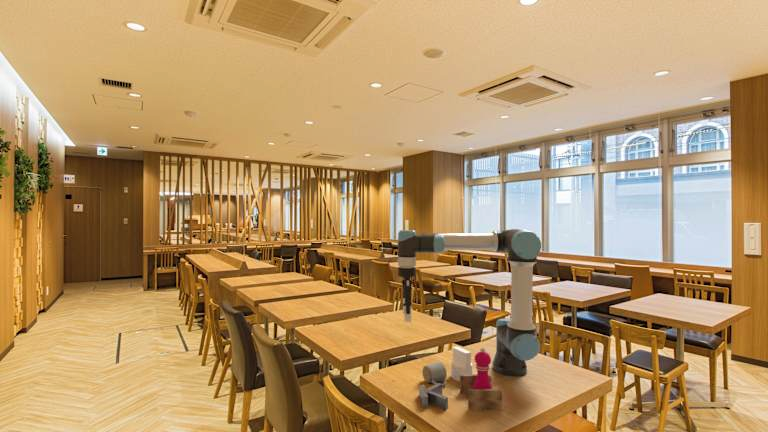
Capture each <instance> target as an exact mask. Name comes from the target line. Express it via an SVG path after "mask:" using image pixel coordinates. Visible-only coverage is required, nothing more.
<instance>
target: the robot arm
mask: <svg viewBox="0 0 768 432" xmlns="http://www.w3.org/2000/svg"><path fill="white" fill-rule="evenodd" d="M467 250H468V251H476V250H477V251H483V250H484V251H492V252H494V253H504V254H507V262H508V263H509V264H510V265H511V269H510V270H511V271H510V272H511V279H510V280H511V282H510V285H511V286H510V289H511V293H510V318H498V319H497V321H496V326H495V328H496V329H495V330H496V332H495V333H496V336H495V337H496V343H495V344H496V351H495V354H494V358H493V360H492V369H493V371H495V372H496V373H499V374H502V375H506V376H515V377H516V376H517V377H518V376H523V375H526V374H527V373H528V366H527V362H526V361H530V360H533V359H534V358H535V357H537V356H538V354H539V352H540V349H541V343H540V341H539V339H538V337H537V326H536V324H534V323H533V288H534V285H533V282H534V277H533V276H534V275H533V273H534V271H533V270H534V269H533V267H534V265H535V264H537V263H538V260H537V259H538V257H537V256H538V255H539V254H540V252H541V250H542V242H541V239H540V237H539V236H538V235H537V234H536V233H535V232H533V231H531V230H528V229H517V228H514V229H513V228H512V229H506V230H493V231H492V232H491V233H489V232H487V233H485V232H482V233H478V232H476V233H475V232H473V233H468V232H467V233H466V232H465V233H462V232H461V233H458V232H457V233H456V232H455V233H454V232H453V233H450V232H449V233H448V232H447V233H443V232H442V233H427V232H424V233H421V234H417V232H416V230H414V229H402V230H399V231H398V234H397V259H396V261H397V266H398V267H397V275H398V277H401V278H402V280H401V284H402V314H404V316H403V317H404V322H406V323H407V322H408V323H409V322H410V323H411V322H412V286H413V285H412V284H413V283H412V282H413V281H412V280H411V278H414V277H416V275H417V269H416V266H417V255H416V254H417V253H419V254H420V253H424V254H427V253H434V254H437V253H438V254H439V253H443V252H444V251H467Z"/></svg>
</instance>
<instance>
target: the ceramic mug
mask: <svg viewBox="0 0 768 432" xmlns="http://www.w3.org/2000/svg"><path fill="white" fill-rule="evenodd" d="M422 377H423V379H424V381H425V382H426V383H428V384H433V385H435V384H437V383H440V382H442V381H444V383H441V384H442V388H445V386H446V385H447V369H446V367H445V364H444V363H443V362H442V361H436V362H432V363H430V364H425V365H424V366H423V367H422Z"/></svg>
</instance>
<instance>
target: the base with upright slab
mask: <svg viewBox="0 0 768 432" xmlns="http://www.w3.org/2000/svg"><path fill="white" fill-rule="evenodd" d="M450 368H451V369H450V370H451V371H450V373H451V374H450V375H451V376H450V377H451V378H452V379H453V380H454V381H457V382H460V374H473V363H472V352H471V351H469V350H467V349H465V348H463V347H460V346H453V347H452V361H451V365H450Z"/></svg>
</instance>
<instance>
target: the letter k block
mask: <svg viewBox="0 0 768 432" xmlns="http://www.w3.org/2000/svg"><path fill="white" fill-rule="evenodd" d="M436 383H437V384H435V385H434V384H433V385H431V386H430V387H428V388H426V386H425V385H424V384H419V385H418V388H419V390H418V391H419V392H418V393H419V394H418V395H419V400H420V403H421V408H423V409H424V408H427V409H429V405H432V406H434V407H437V408H439V409H442V410H444V411H446V410H447V409H449V397H447V396H445V395H443V387H442V384H443V383H440V382H436Z"/></svg>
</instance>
